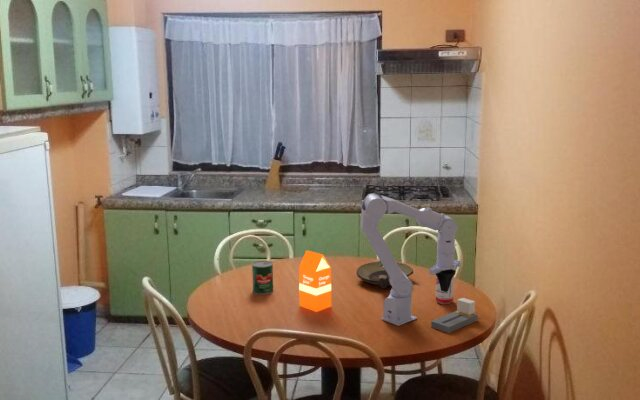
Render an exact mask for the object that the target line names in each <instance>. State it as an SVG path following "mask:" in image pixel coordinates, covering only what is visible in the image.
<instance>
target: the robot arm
mask: <svg viewBox="0 0 640 400" xmlns="http://www.w3.org/2000/svg"><path fill="white" fill-rule="evenodd" d="M360 208H361V215H360V217H361V219H360V229H361V230H362V232H363V233H364V235H365V237H366V238H367V240H368V242H369V244H370V246H371V247H372V249H373V250H374V252H375V254H376V256H377V258H378V260H379V261H381V263H382V265H383V266H382V267H384V268H385V270H386V272H387V273H388V275H389V281H390V284H391V285H390V286H391V290H390V292H389V295H388V297H386V298H385V299H384V300H383V303H382V304H383V305H382V307H383V308H382V309H383V311H382V312H383V313H382V317H381V318H380V319H381V320H382V321H385V322H387V323H389V324H393V325H395V326H397V327H398V326H399V327H400V326H402V325H405V324H407V323H410V322H412V321H414V320H417V318H418V317H417V316H414V315H412V294H413V291H414V285H413V282H412V280H411V279H410V278H409V276H408V277H407V275H406V274H405V273H404V272H403V271H401V269H400V267H399V266H398V264H397V261H396V258H395V257H394V255H393V253H392V252H391V250H390V248H389V246H388V245H387V243H386V241H385V240H384V238H383V236H382V234H381V232H380V231H379V229H378V225H379V224H380V223H379V222H380V221H381V219H382V218H383V217H384V216H385V214H387V215H390V214H392V213H397V214H400V215H404V216H406V217H409V218H413V219H414V220H415V221H416V224H418V225H420V226H423V227H425V228H427V229H431V230H434V231H437V238H436V239H437V240H436V241H437V242H436V243H437V244H436V245H437V247H436V264H434V265H433V266H432V267H430V268H429V271H428V273H429V275H433V276H435V277H436V276H437V278H438V280H439V284H440V288H441V291H444V292H447V291H448V290H449V286H450V283H451V280H452V278H453V276H455V275H456V274H457V273H456V272H457V271H456V269H457V267H461V260H458V259H455V247H456V245H455V244H456V240H455V239H456V237H455V236H456V233H457V232H458V230H459V226H458V224H457V222H456V221H455V220H454V219H453V218H452V217H450V216H449V215H447V214H445V213H443V212H441V213H439V212H436V211H435V210H433V208H431V207H429V206H428V207H423V208H420V209H418V208H415V207H413V206H411V205H408V204H406V203H404V202H401V201H400V200H399V201H398V200H396V199H394V198H391V197H389V196H384V195H379V194H377V193H370V194H367V195H366V196H365V197H364V199H363V202H362V203H361V206H360ZM452 269H454V270H452ZM408 278H409V279H408Z"/></svg>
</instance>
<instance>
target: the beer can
mask: <svg viewBox="0 0 640 400" xmlns="http://www.w3.org/2000/svg"><path fill="white" fill-rule="evenodd" d="M452 270H455V269H452ZM454 276H455V275H454ZM454 276H453V278H452V280H451V283H450V286H449V290H448V291H447V292H444V291H441V288H440V284H439V280H438V278H437V276H436V275H435V301H436V302H437V303H438V304H441V305H450V304H451V303H452V302H453V301H454V278H455V277H454Z"/></svg>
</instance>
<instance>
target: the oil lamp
mask: <svg viewBox="0 0 640 400" xmlns="http://www.w3.org/2000/svg"><path fill="white" fill-rule="evenodd" d="M396 262H397V261H396ZM397 264H398V266H399V267H400V269H401V271H403V272H404V273H405V274H406V275H407V277H408V279H409V280H410V278H409V277H410V276H411V275H414V269H413V268H412V267H410V265H408V264H405V263H400V262H397ZM356 276H357V278H359V279H360V280H362V281H364V282H367V283H369V284H373V285H374V286H380V287H381V288H383V289H386V288H387V287H388V286H391V284H390V281H389V275H388V273H387V272H386V270H385V268H384V266H383V265H382V263H381V261H380V260H379V261H373V262H368V263H364V264H362V265H360V266H359V267H358V268H357V269H356Z"/></svg>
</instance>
